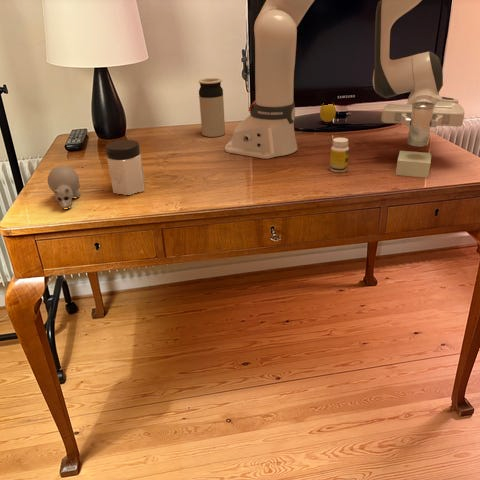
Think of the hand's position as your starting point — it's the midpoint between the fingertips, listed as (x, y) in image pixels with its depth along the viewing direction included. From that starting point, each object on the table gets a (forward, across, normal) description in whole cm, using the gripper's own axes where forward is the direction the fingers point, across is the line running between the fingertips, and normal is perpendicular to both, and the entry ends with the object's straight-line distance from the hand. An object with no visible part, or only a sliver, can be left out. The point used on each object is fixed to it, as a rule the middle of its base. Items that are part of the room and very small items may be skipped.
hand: (420, 123), depth 116 cm
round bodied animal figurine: (+42, -79, +13) cm, 91 cm away
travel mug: (-19, -66, +13) cm, 70 cm away
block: (-1, 0, +13) cm, 13 cm away
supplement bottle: (+3, -19, +13) cm, 24 cm away
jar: (+31, -68, +13) cm, 76 cm away
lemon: (-41, -31, +13) cm, 53 cm away
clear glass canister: (-1, 0, +6) cm, 6 cm away
